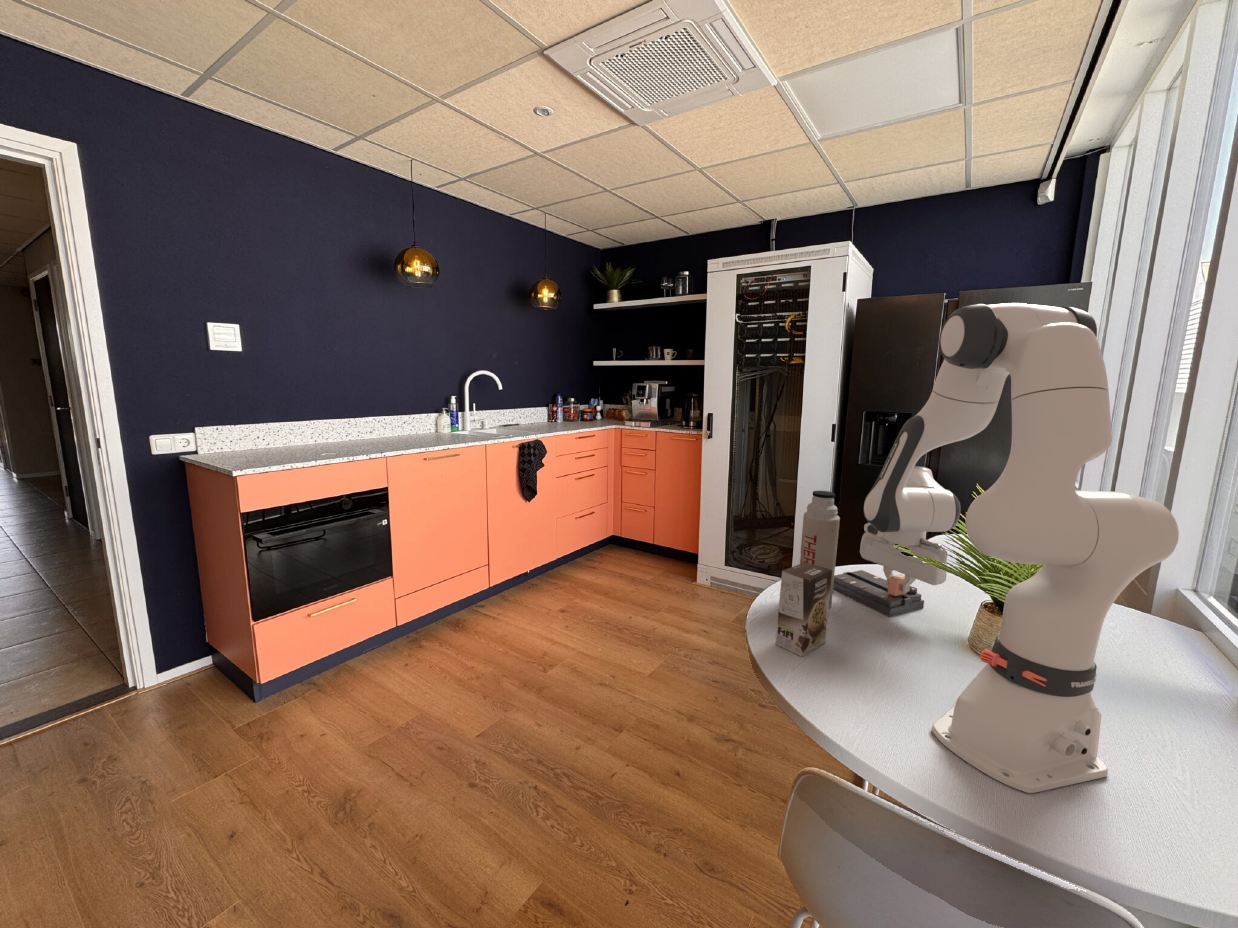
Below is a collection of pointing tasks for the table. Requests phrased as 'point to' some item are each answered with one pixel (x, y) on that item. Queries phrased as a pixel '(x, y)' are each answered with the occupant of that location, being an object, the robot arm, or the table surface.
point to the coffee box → (803, 608)
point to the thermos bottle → (821, 533)
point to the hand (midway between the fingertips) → (897, 588)
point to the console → (876, 593)
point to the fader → (896, 585)
